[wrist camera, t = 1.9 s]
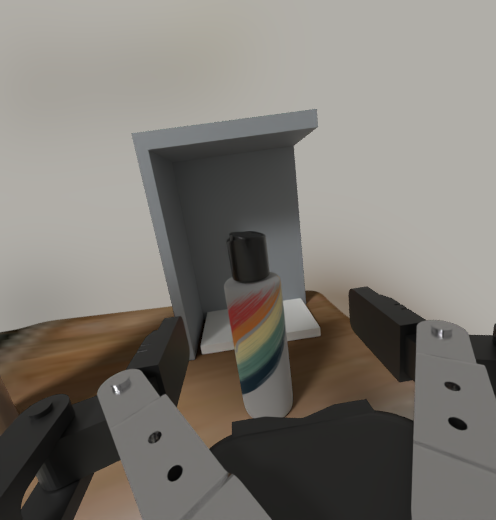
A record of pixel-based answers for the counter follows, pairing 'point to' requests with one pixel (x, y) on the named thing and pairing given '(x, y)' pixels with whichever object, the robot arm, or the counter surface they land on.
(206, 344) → the shelf mat
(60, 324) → the counter surface
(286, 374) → the lotion bottle
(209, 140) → the open shelf
